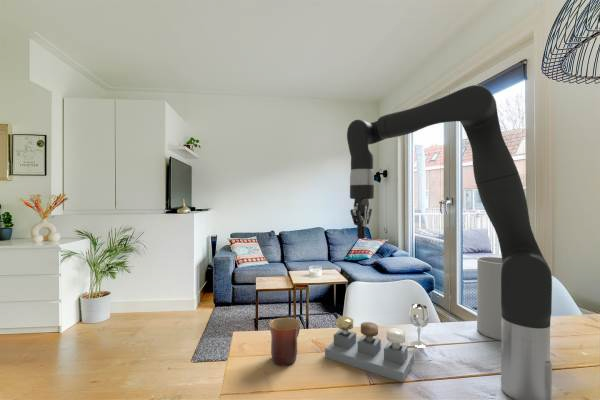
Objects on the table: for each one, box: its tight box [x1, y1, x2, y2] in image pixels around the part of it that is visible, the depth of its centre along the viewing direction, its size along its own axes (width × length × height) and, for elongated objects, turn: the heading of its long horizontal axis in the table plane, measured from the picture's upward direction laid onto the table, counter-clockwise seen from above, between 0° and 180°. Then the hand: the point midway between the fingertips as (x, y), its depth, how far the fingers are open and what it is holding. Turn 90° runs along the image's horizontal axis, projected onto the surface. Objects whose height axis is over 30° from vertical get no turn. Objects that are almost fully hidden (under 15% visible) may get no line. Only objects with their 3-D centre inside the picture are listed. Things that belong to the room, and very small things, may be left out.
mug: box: [268, 317, 301, 366], centre depth 88 cm, size 12×9×10 cm
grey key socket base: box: [324, 329, 415, 383], centre depth 87 cm, size 22×12×5 cm, turn 57°
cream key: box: [386, 327, 406, 351], centre depth 83 cm, size 5×5×6 cm
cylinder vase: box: [476, 256, 503, 341], centre depth 104 cm, size 12×12×25 cm
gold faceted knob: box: [336, 316, 354, 337], centre depth 91 cm, size 5×5×6 cm
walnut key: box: [360, 321, 379, 344], centre depth 87 cm, size 5×5×6 cm
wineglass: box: [408, 303, 430, 349], centre depth 96 cm, size 6×6×12 cm
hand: (361, 238), depth 98 cm, fingers closed
